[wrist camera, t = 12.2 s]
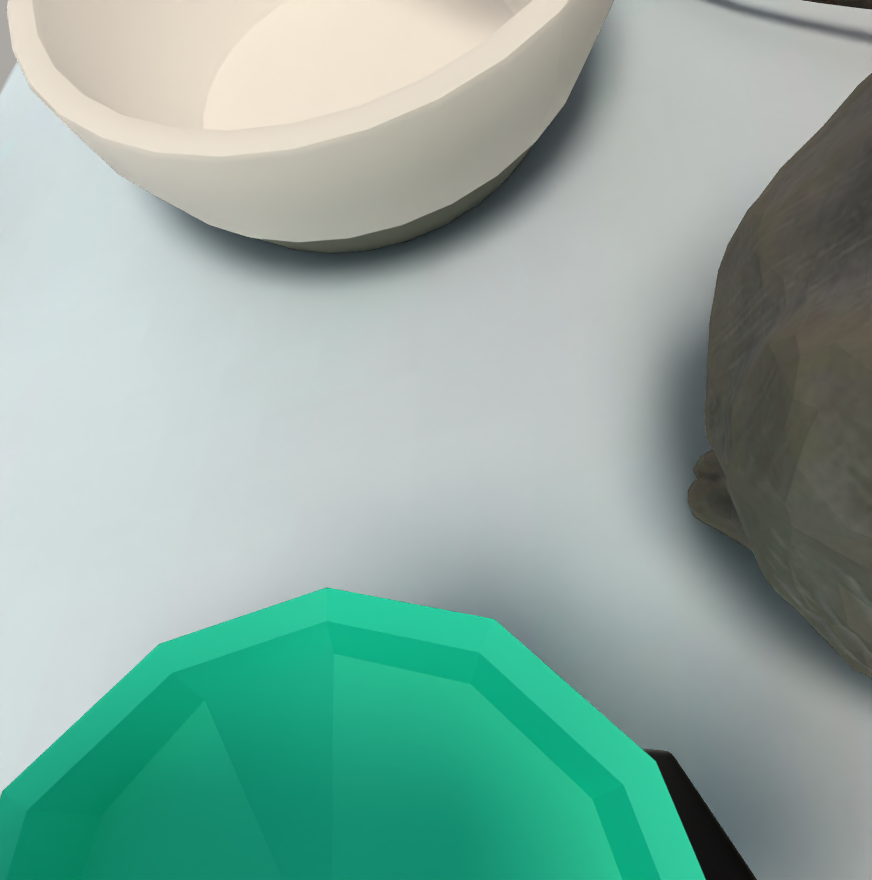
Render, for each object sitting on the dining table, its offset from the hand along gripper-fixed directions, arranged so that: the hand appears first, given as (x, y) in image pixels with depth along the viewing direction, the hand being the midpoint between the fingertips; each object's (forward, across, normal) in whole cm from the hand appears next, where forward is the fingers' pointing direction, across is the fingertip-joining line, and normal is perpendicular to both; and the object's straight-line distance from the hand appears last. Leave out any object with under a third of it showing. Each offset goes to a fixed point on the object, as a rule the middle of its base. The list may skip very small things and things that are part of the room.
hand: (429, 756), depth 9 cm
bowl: (+27, +7, -10) cm, 30 cm away
